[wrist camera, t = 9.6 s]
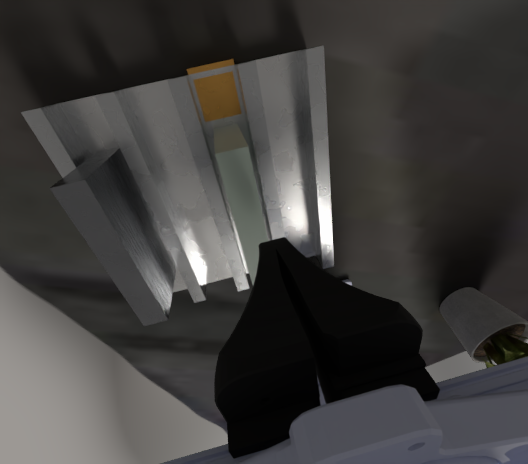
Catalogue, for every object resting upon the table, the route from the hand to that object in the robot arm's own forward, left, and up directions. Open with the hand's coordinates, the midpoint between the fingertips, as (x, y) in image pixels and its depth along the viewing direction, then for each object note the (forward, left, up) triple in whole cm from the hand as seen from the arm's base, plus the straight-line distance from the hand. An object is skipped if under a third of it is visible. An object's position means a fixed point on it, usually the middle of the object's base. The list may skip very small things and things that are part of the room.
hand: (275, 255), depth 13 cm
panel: (0, +1, -8) cm, 8 cm away
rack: (0, +3, -9) cm, 10 cm away
